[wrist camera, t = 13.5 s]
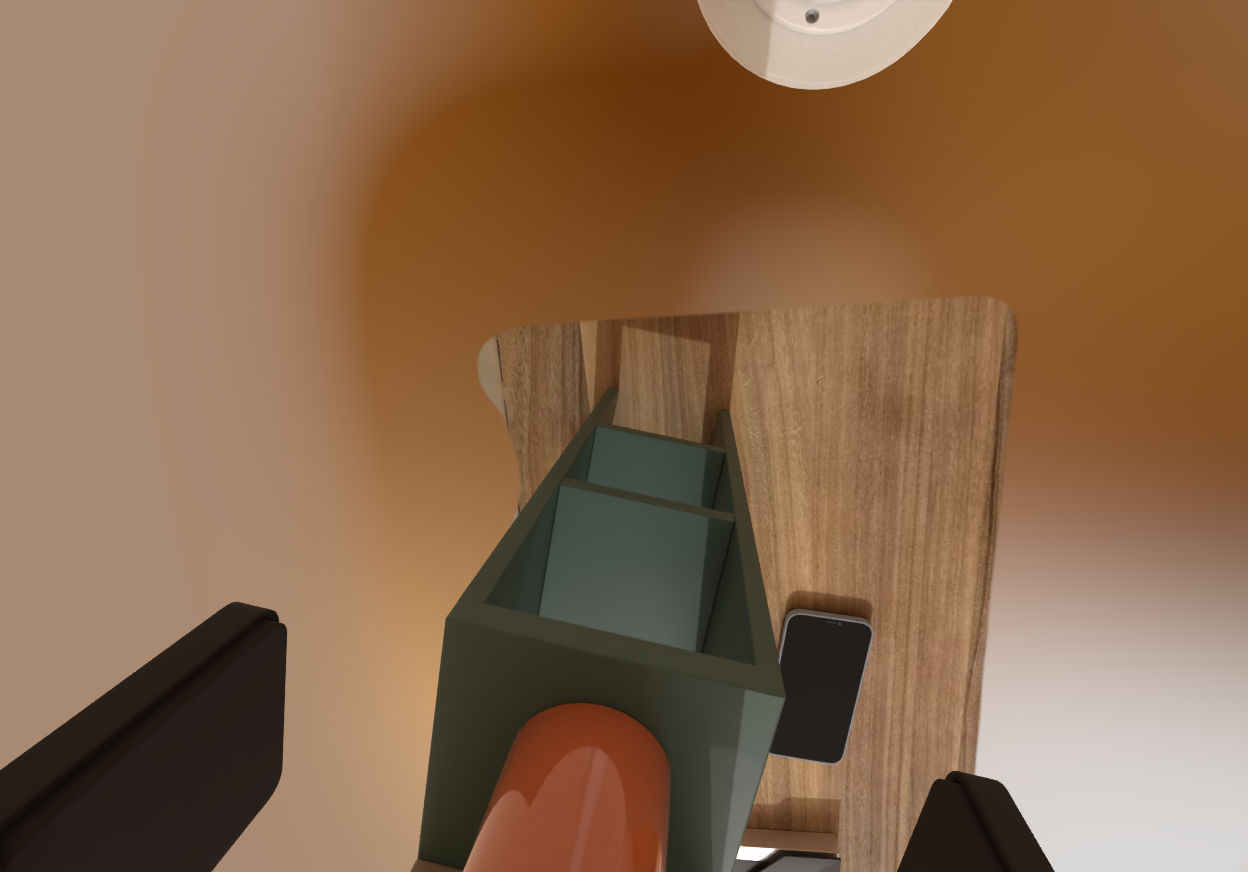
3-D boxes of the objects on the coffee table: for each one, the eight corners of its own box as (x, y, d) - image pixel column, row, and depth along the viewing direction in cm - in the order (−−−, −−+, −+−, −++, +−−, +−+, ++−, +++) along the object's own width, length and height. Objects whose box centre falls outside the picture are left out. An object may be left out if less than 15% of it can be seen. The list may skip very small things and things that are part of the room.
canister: (520, 684, 19) (441, 873, 13) (687, 723, 18) (681, 934, 13) (499, 815, 20) (419, 1037, 14) (653, 853, 20) (634, 1097, 14)
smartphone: (760, 753, 58) (787, 611, 54) (759, 745, 59) (786, 605, 55) (841, 766, 58) (876, 624, 54) (839, 758, 59) (873, 618, 54)
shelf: (609, 386, 52) (100, 1100, 8) (729, 411, 51) (916, 1335, 7) (589, 498, 55) (132, 1483, 11) (703, 522, 54) (719, 1675, 10)
